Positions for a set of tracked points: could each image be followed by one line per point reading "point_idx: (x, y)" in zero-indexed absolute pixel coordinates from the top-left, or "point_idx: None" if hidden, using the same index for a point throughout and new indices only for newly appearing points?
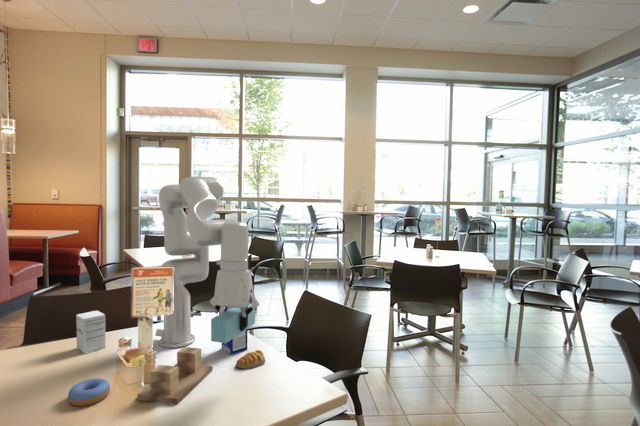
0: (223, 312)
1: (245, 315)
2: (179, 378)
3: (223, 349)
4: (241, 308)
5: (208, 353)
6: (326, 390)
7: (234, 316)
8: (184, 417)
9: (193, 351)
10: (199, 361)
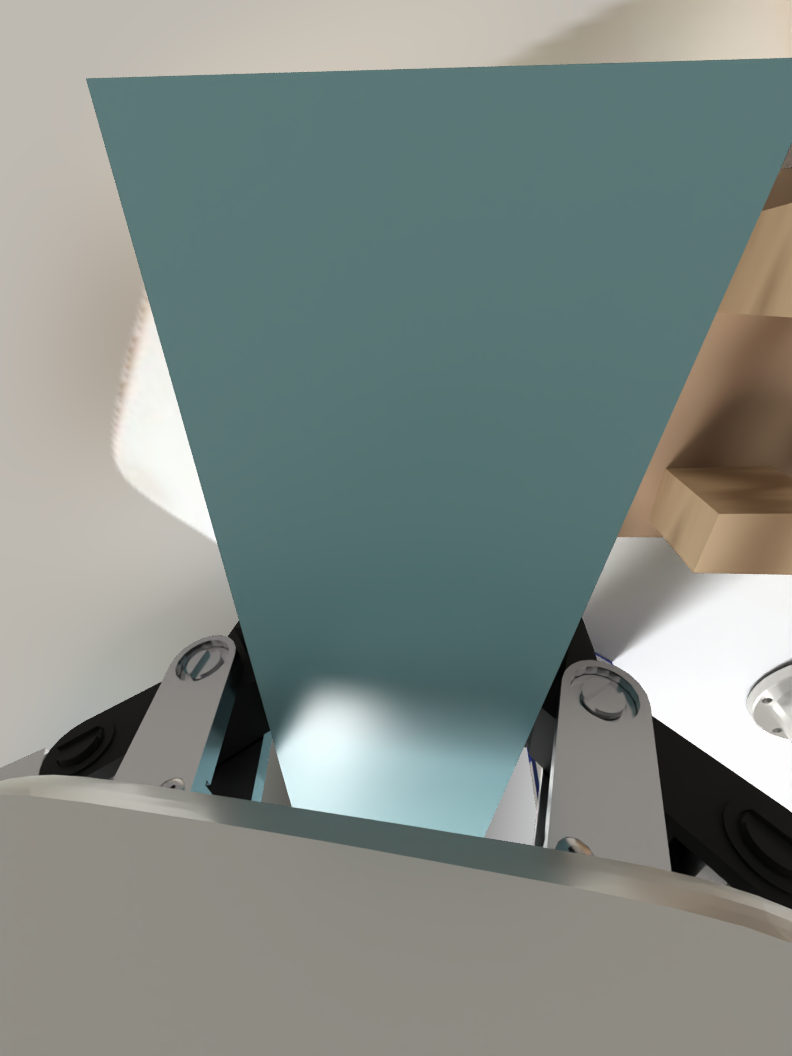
0: (542, 695)
1: (193, 660)
2: (737, 402)
3: (602, 658)
4: (170, 773)
5: (655, 633)
6: (156, 483)
7: (231, 566)
8: (583, 63)
9: (735, 536)
10: (670, 522)
